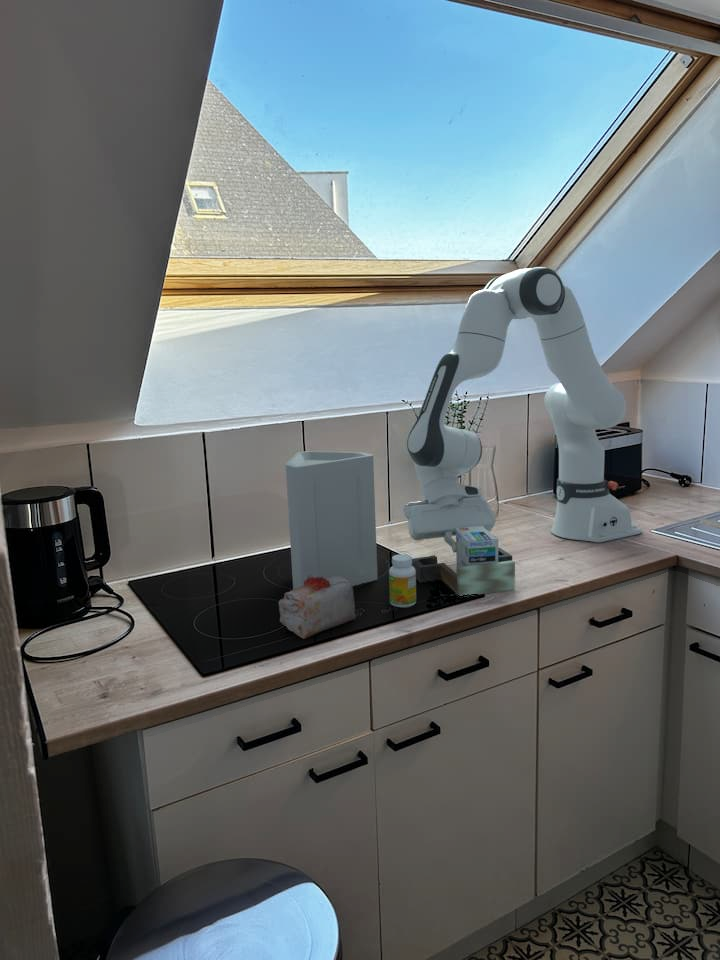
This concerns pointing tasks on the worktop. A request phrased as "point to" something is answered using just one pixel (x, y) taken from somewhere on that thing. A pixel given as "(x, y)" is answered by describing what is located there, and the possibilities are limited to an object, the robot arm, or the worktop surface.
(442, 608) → the worktop surface
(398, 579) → the supplement bottle
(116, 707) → the worktop surface
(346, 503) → the grey triangular bin
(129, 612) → the worktop surface
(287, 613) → the food item
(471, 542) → the light bulb box
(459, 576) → the box
